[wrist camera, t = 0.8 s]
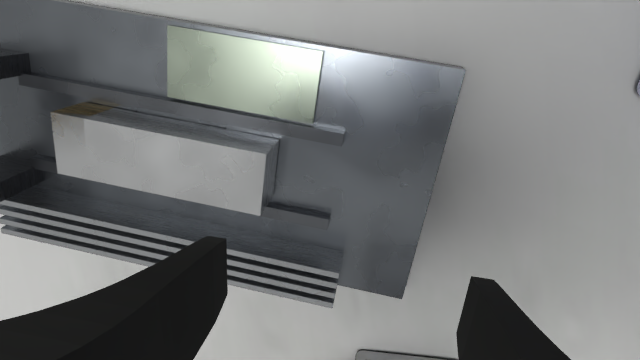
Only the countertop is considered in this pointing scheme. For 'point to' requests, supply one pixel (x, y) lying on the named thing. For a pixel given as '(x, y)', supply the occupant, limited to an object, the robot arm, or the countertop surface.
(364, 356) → the coffee box
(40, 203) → the heatsink base
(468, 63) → the countertop surface
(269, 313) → the countertop surface
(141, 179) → the rectangular block
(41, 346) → the robot arm
